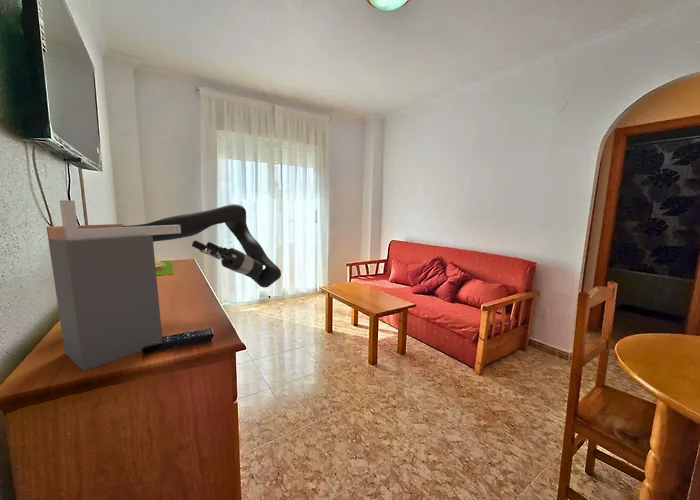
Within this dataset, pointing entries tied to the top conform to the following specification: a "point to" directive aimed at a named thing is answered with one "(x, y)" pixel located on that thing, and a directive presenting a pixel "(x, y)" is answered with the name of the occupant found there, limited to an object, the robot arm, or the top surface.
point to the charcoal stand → (105, 295)
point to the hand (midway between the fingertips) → (200, 243)
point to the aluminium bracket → (98, 233)
